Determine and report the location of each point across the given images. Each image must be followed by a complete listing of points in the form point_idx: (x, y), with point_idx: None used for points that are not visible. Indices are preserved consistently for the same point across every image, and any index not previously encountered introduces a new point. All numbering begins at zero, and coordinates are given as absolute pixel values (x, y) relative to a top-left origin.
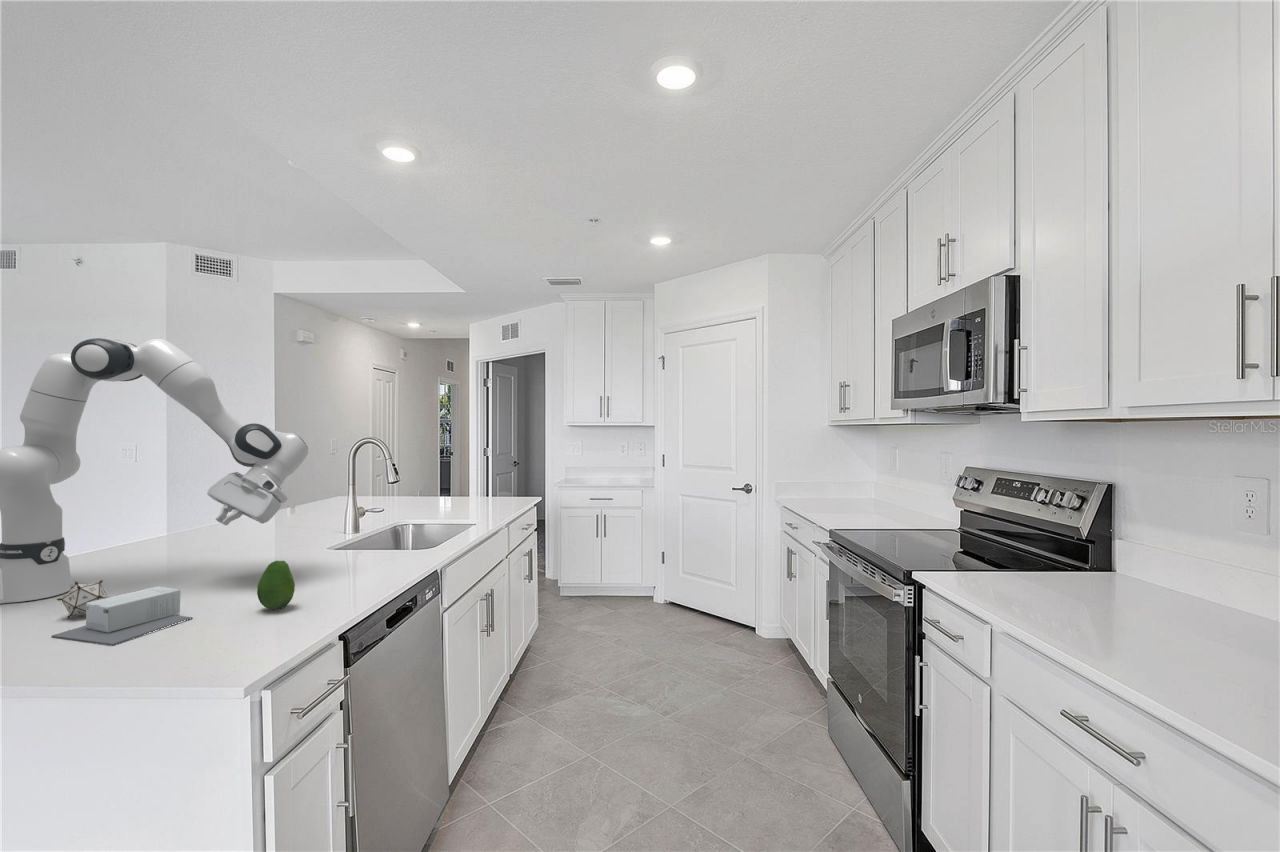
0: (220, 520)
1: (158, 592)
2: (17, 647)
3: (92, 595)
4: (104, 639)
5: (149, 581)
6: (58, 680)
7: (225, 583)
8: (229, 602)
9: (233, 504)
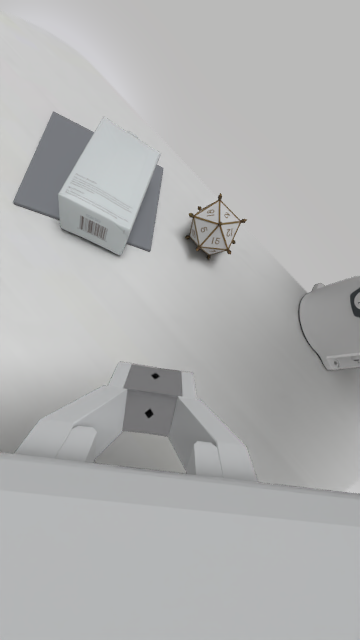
0: (151, 368)
1: (87, 177)
2: (167, 148)
3: (200, 211)
4: (82, 132)
5: (273, 413)
6: (23, 26)
7: (135, 444)
8: (7, 303)
9: (115, 489)
